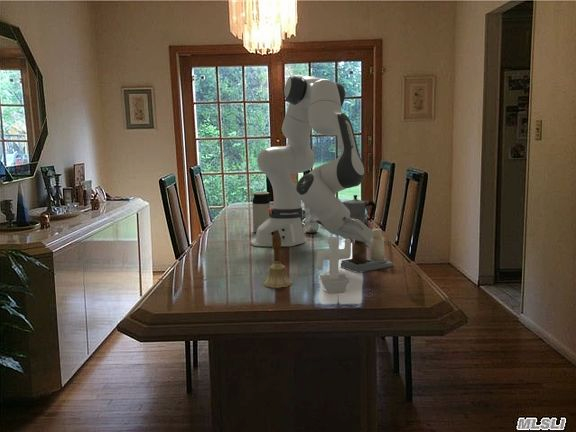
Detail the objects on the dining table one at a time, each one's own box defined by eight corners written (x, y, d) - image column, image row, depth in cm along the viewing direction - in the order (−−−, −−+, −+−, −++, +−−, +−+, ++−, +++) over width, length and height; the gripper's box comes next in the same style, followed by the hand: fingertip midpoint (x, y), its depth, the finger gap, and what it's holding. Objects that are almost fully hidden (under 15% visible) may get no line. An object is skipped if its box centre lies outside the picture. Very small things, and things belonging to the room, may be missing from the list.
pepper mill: (353, 265, 164) (353, 235, 163) (350, 262, 169) (350, 232, 167) (367, 265, 165) (368, 234, 163) (364, 262, 169) (364, 232, 168)
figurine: (315, 288, 145) (314, 235, 143) (348, 286, 146) (347, 234, 144) (319, 295, 138) (318, 240, 136) (354, 293, 139) (353, 238, 137)
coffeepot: (337, 238, 217) (337, 195, 215) (343, 234, 226) (343, 193, 223) (373, 240, 211) (373, 196, 209) (378, 236, 220) (378, 194, 218)
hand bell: (295, 286, 147) (294, 231, 145) (267, 289, 145) (265, 233, 142) (287, 279, 155) (286, 227, 153) (260, 282, 153) (258, 228, 150)
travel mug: (268, 232, 234) (267, 193, 231) (251, 232, 235) (250, 193, 233) (272, 229, 242) (271, 191, 239) (255, 229, 243) (254, 191, 240)
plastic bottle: (320, 231, 234) (319, 187, 231) (316, 234, 228) (315, 189, 225) (306, 231, 236) (306, 187, 233) (302, 233, 230) (301, 188, 227)
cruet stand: (357, 272, 161) (357, 235, 159) (340, 266, 169) (340, 231, 167) (393, 266, 168) (393, 230, 166) (375, 260, 176) (375, 226, 174)
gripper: (361, 212, 152) (387, 241, 158) (323, 205, 169) (347, 231, 175) (349, 228, 150) (376, 257, 156) (312, 220, 168) (337, 246, 174)
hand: (360, 243), depth 166 cm, fingers open, 8 cm apart
